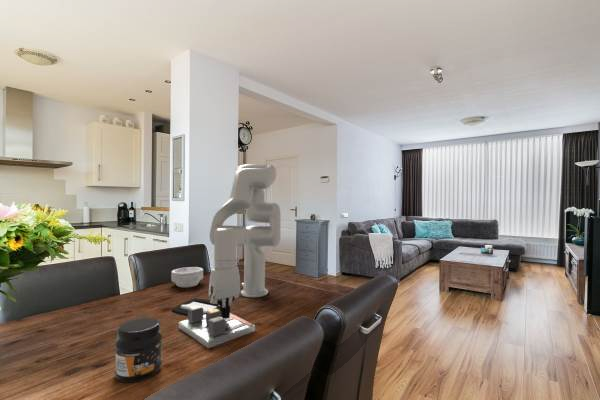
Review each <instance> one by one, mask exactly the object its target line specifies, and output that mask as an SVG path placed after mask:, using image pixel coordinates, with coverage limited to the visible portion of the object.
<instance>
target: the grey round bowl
mask: <svg viewBox="0 0 600 400" xmlns="http://www.w3.org/2000/svg"><path fill="white" fill-rule="evenodd" d="M203 279H204V268H202V267H198V266H190V267H189V266H188V267H180V268H176V269H173V270H171V282H173V283H174V284H175V285H176V287H179V288H192V287H195V286H198V284H200V283H199V282H200V281H201V280H203Z"/></svg>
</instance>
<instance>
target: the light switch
mask: <svg viewBox="0 0 600 400" xmlns="http://www.w3.org/2000/svg"><path fill="white" fill-rule="evenodd" d="M210 300H211V299H205V298H204V299H203V298H197V297H195V298H194V297H193V298H192V299H189V300H186V301H183V302H181V303H180V304H178V305H176V306H175V307H173V308H172V309H171V312H172V313H175V314H179V315H182V316H186V317H188V309H189V308H190V307H194V306H200V307H202V308H203V315H206V312H207V311H209V310H213V309H218V310H220V306H219V305H218V304H212V303H210Z"/></svg>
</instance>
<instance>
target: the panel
mask: <svg viewBox="0 0 600 400" xmlns="http://www.w3.org/2000/svg"><path fill="white" fill-rule="evenodd" d="M221 318H222V317H221ZM223 319H224V318H223ZM178 329H180V330H181V331H182V332H184V333H185V334H186V335H188V336H189V337H191V338H192V339H194V340H195V341H197V342H198V343H200V344H201V345H202V346H204V347H205V348H207V349H210V348H213V347H216V346H219V345H221V344H224V343H227V342H230V341H232V340H235V339H237V338H239V337H243V336H245V335H248V334H251V333H253V332H256V325H255V324H254V323H252V322H250V321H247V320H245V319H243V318H241V317H239V316H237V315H235V314H234V313H231V312H230V318H227V319H225V332H224V333H221V334H219V335H216V336H212V335H210V334H209V333H208V325H207V324H206V315H203V320H200V321H197V322H193V323H191V322H190V321H188V319H184V320H181V321H179V322H178Z"/></svg>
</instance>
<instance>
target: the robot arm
mask: <svg viewBox="0 0 600 400" xmlns="http://www.w3.org/2000/svg"><path fill="white" fill-rule="evenodd" d="M276 178H277V170H276V167H275V166H274V164H269V163H268V164H265V163H264V164H262V163H261V164H259V163H258V164H253V163H251V164H242V165H239V166H238V167H237V170H236V172H235V175H234V178H233V182H232V187H231V191H230V197H229V199H228V200H227V201H226V202H225V203H223V205H221V207H219V209H218V210H217V211H216V212H215V214H214V216H213V218H212V220H211V221H212V222H211V226H210V229H209V240H210V243H211V244H212V245H214V248H213V249H214V250H213V251H214V253H213V254H214V257H213V259H214V260H213V261H214V262H213V268H211V271H210V275H209V281H208V282H209V283H208V297H209V298H210V299H209V300H210V303H212V304H218V305H219V306H220V311H221V317H222V318H224V319H227V318H230V313H231V306H232V305H233V302H234V301H235V300H236V299H238V298H240V296H242V297H245V298H260V297H261V298H262V297H264V296H267V295H268V294H269V290H268V288H266V286H265V285H266V254H265V252H264V251H263V249H262V248H261V247H265V248H266V247H269V248H270V247H271V248H273V247H277V246H279V244H280V242H281V226H282V225H281V223H282V221H281V218H282V217H281V215H282V214H281V208H280V205H279V204H278V203H277V202H266V201H265V191H264V190H265V189H266V190H267V189H269V188H270V187H271V186H272V185H273V184H274V183H275V181H276ZM244 211H245V215H246V219H247V220H246V221H247V222H250V223H254V224H255V223H256V224H258V223H259V224H260V223H261V224H269V225H249V226H246V227H245V226H243V225H224V224H225V222H226V220H228V218H230V217H232V216H233V215H235V214H238V213H241V212H244ZM238 247H239V248H240V247H243V251H244V254H243V256H244V257H243V258H244V261H243V262H244V265H243V266H244V267H243V268H244V272H243V273H244V275H243V277H244V279H243V281H244V282H241V278H240V272H239V271H240V270H239V267H238V263H240V258H237V255H238V250H237V249H238ZM241 287H243V289H241Z"/></svg>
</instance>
